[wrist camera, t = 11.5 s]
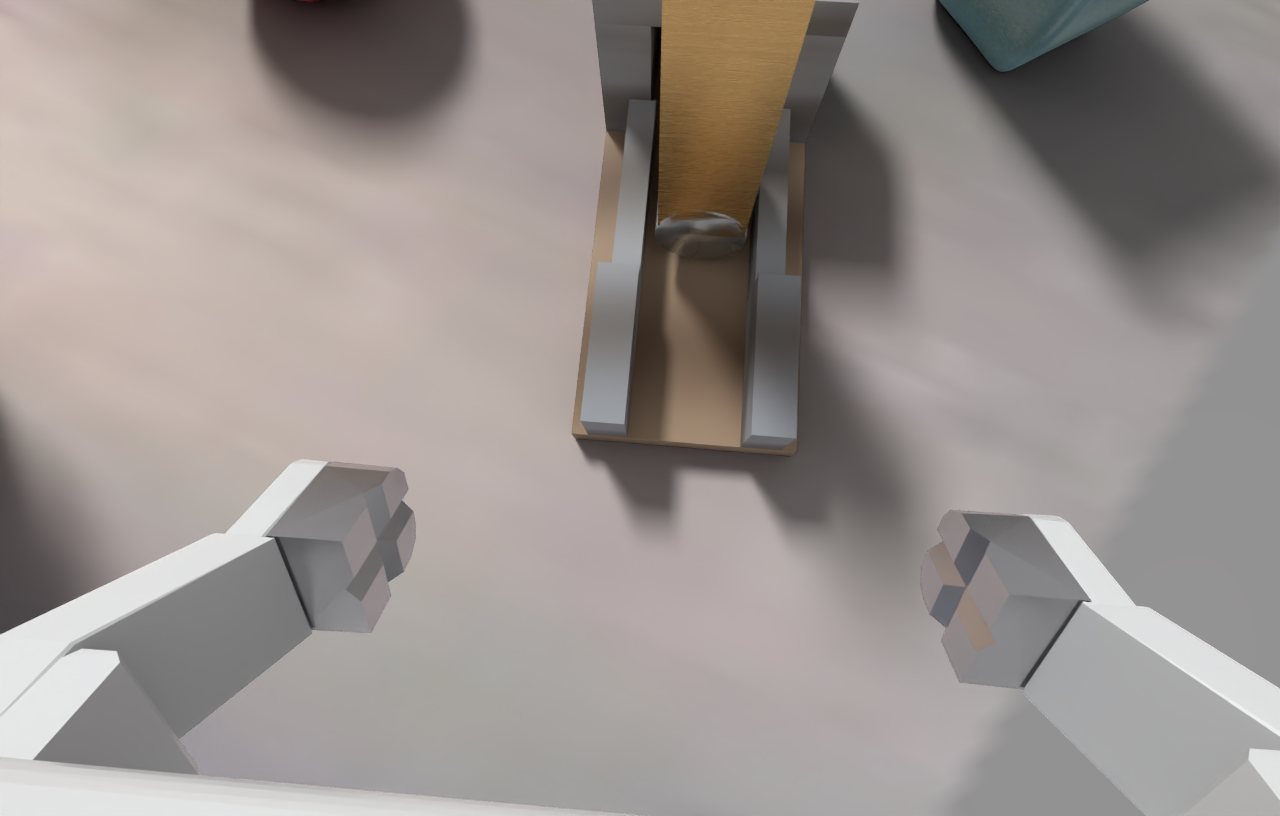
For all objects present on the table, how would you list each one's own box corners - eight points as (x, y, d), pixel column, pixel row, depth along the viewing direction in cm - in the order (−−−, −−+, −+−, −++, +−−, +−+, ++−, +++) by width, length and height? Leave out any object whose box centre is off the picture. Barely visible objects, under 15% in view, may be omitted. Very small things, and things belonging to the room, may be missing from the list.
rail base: (790, 456, 21) (857, 413, 14) (575, 438, 22) (538, 387, 15) (802, 39, 26) (859, -150, 19) (621, 29, 26) (610, -161, 19)
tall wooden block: (739, 261, 22) (836, -47, 10) (654, 255, 22) (657, -56, 11) (751, 40, 24) (840, -412, 13) (673, 36, 24) (694, -415, 13)
